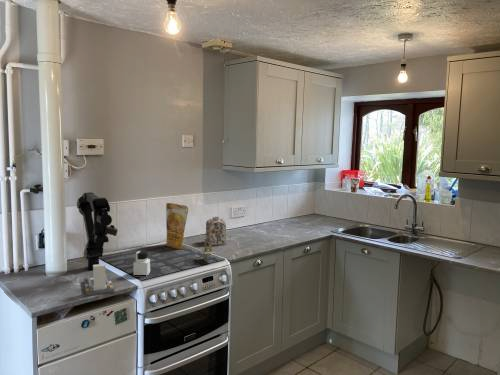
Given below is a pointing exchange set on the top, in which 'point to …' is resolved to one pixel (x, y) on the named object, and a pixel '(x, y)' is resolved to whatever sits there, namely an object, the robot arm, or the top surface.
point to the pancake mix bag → (175, 224)
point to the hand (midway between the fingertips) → (100, 252)
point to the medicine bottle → (141, 263)
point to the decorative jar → (216, 231)
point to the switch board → (89, 290)
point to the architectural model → (205, 250)
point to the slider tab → (99, 277)
